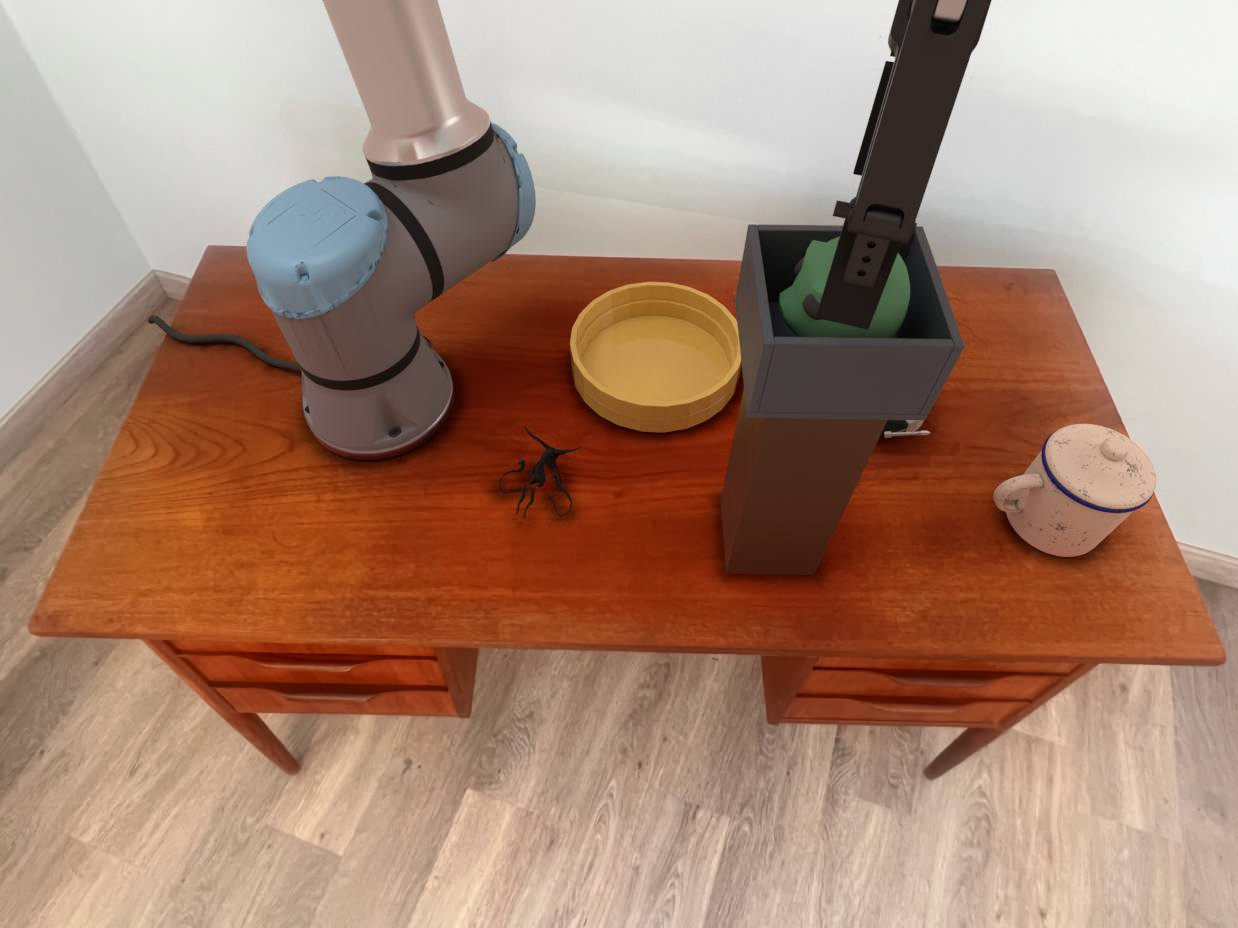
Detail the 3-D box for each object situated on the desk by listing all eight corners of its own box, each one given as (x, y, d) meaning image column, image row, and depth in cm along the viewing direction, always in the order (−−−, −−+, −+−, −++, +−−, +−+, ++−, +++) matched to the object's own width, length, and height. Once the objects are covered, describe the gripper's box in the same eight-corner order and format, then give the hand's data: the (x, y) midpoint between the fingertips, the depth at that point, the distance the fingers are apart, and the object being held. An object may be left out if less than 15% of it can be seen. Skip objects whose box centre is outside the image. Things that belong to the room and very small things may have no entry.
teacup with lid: (1076, 476, 73) (1145, 400, 64) (1119, 558, 68) (1200, 487, 58) (958, 483, 73) (1009, 407, 63) (991, 565, 67) (1052, 496, 58)
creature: (560, 537, 70) (595, 466, 73) (550, 518, 65) (588, 443, 68) (489, 508, 72) (526, 440, 75) (474, 487, 67) (514, 415, 70)
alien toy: (761, 315, 51) (788, 187, 43) (872, 313, 51) (920, 186, 43) (775, 391, 47) (808, 266, 39) (896, 390, 47) (954, 265, 39)
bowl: (547, 408, 78) (544, 380, 74) (604, 297, 88) (603, 267, 84) (714, 453, 75) (719, 425, 71) (753, 332, 85) (760, 302, 81)
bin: (708, 587, 66) (764, 343, 41) (703, 487, 72) (748, 223, 47) (834, 589, 66) (965, 346, 41) (817, 489, 72) (923, 226, 47)
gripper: (1200, -161, 17) (905, 418, 34) (1131, -344, 31) (945, 137, 48) (872, -194, 18) (747, 379, 36) (946, -355, 32) (829, 117, 49)
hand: (860, 241), depth 42 cm, fingers open, 13 cm apart
